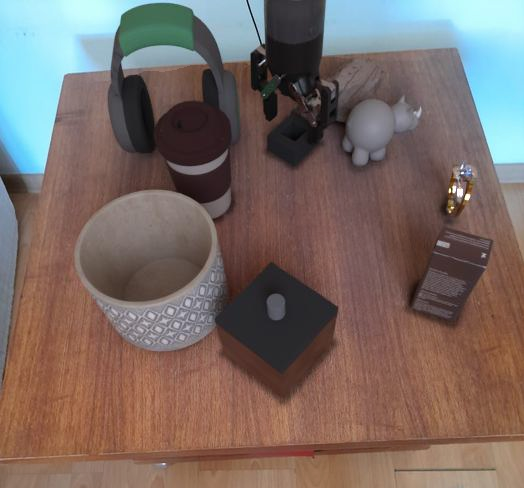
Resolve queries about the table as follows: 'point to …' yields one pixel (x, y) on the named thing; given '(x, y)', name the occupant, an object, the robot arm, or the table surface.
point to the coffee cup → (197, 153)
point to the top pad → (282, 141)
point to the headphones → (134, 88)
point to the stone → (351, 85)
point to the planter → (154, 268)
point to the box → (451, 273)
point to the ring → (460, 188)
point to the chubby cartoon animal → (376, 128)
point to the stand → (269, 374)
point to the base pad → (279, 332)
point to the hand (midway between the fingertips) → (292, 129)
